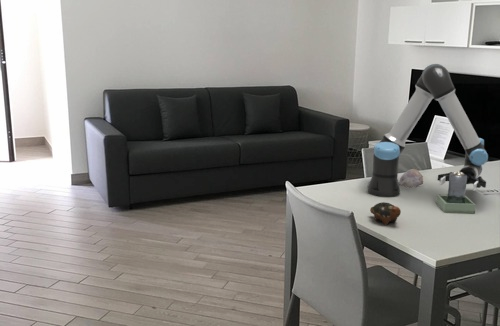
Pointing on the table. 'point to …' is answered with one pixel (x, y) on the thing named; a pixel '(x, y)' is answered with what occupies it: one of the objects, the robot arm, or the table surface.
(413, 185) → the stone
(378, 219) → the decorative turtle
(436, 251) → the table surface
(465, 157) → the robot arm
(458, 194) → the can
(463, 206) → the bin
